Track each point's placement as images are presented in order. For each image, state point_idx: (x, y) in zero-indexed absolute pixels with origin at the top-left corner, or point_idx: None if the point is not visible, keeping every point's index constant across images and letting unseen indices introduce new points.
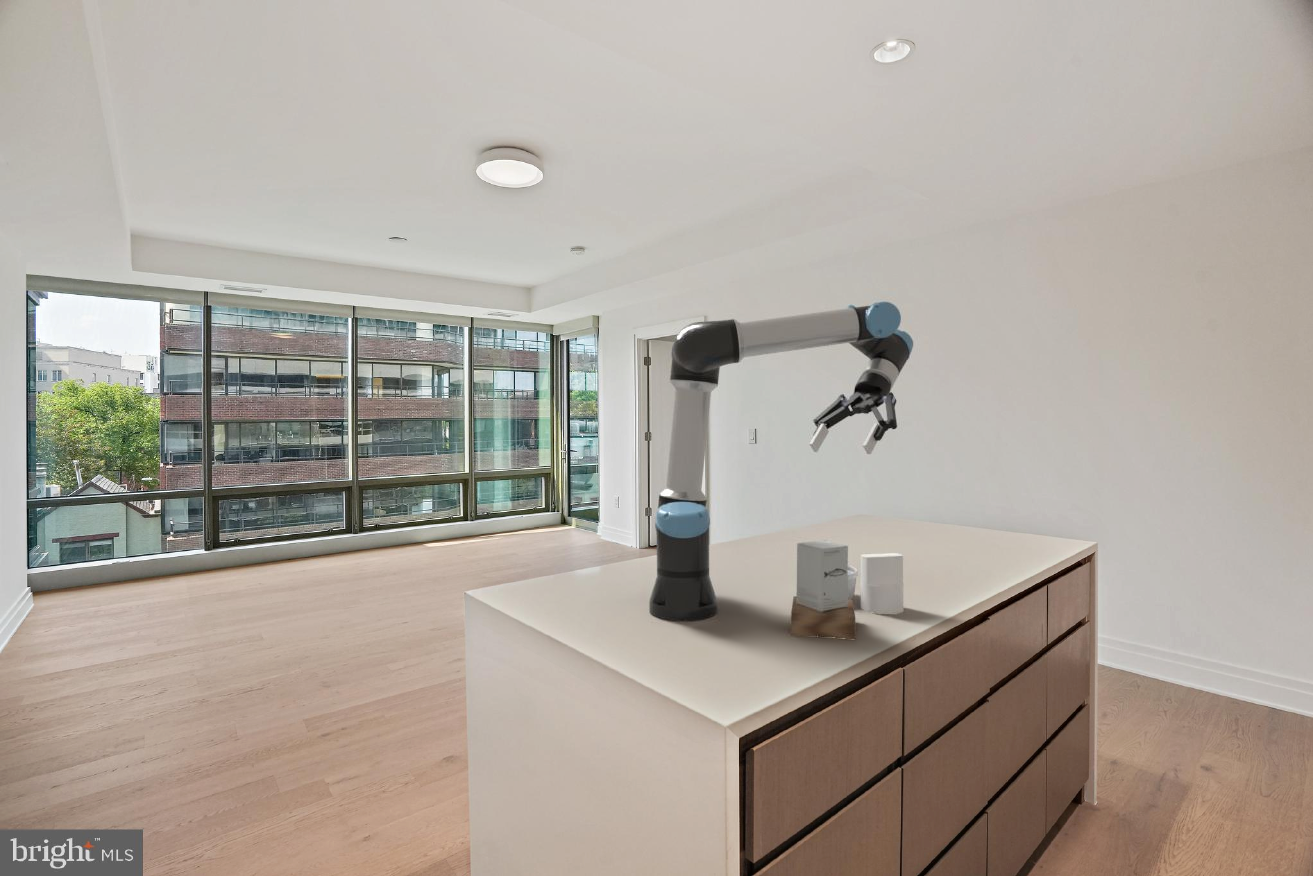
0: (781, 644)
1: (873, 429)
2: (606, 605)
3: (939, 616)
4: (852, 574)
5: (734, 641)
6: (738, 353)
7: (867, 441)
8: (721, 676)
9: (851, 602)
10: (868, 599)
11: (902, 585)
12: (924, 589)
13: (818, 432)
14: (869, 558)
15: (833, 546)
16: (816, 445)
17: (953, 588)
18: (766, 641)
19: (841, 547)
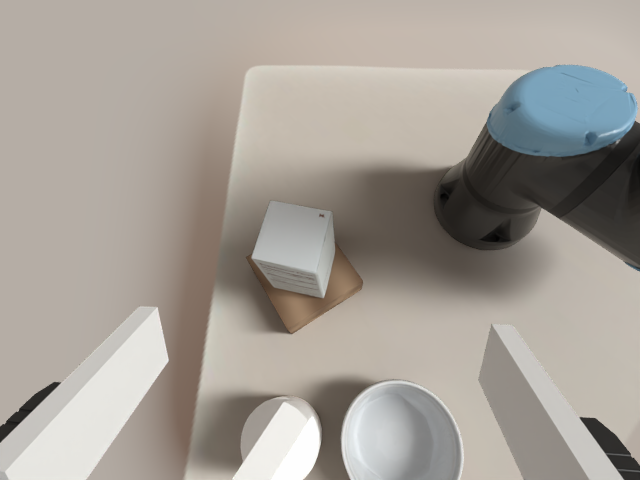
0: (309, 198)
1: (48, 403)
2: None
3: (197, 463)
4: (341, 438)
5: (351, 172)
6: None
7: (124, 324)
8: (300, 108)
9: (281, 315)
10: (292, 397)
11: (240, 447)
12: None
13: (545, 405)
14: (280, 406)
15: (265, 228)
16: (494, 374)
17: None
18: (326, 194)
19: (256, 242)
